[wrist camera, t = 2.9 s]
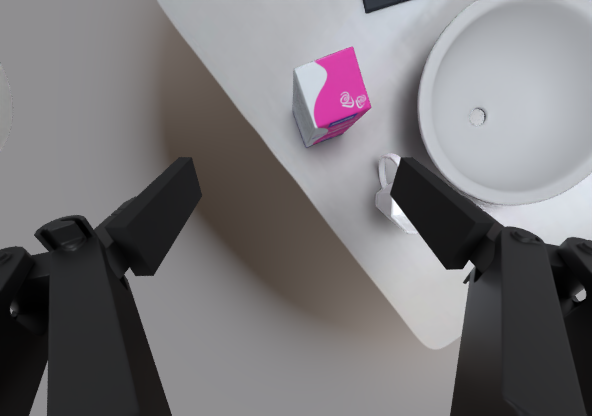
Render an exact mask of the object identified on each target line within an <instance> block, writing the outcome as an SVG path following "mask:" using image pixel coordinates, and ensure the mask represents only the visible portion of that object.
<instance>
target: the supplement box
mask: <svg viewBox="0 0 592 416" xmlns="http://www.w3.org/2000/svg"><path fill="white" fill-rule="evenodd" d="M370 108H371V105H370V101H369V98H368V95H367V92H366V89H365V86H364V83H363V79H362V76H361V72H360V69H359V66H358V62H357V59H356V55H355V52H354V48H353V47H349V48H346V49H344V50H341V51H338V52H336V53H333V54H330V55H328V56H325V57H322V58H320V59H317V60H315V61H312V62H310V63H307V64H305V65H302V66H299V67H297V68H294V76H293V113H294V116H295V119H296V122H297V125H298V127H299V130H300V133H301V136H302V139H303V142H304V145H305V147H306V148H307V147H309V146H312V145H314V144H316V143H319V142H322V141H324V140H327V139H330V138H332V137H335V136H338V135H341V134H343V133H344V132H345V131H346V130H347V129H348V128H349V127H351V126H352V125H353V124H354V123H355V122H356V121H357V120H358V119H359V118H360V117H361V116H363V115H364V114H365V113H366V112H367V111H368V110H369V109H370Z"/></svg>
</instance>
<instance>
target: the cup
mask: <svg viewBox="0 0 592 416" xmlns="http://www.w3.org/2000/svg"><path fill="white" fill-rule="evenodd" d="M386 158H388V159H391V160H392V161H393V162H394V163H395V164H396V165H397V167H398V166H399V162H400V159H401V158H400V157H399V156H398V155H397V154H392V153H390V154H386V155H383V156H381V158H380V159H379V178H380V184H381V186H382V189H381V190H380V191H378V192H377V193H376V199H375V206H376V207H377V208H378V209H379V210H380V211H381V212H382V213H383V214H385V215H386V216H387V217H388V218H389V219H390V220H391V221H392V222H393V223H394V224H396V225H397V226H398V227H400V228H401V229H402V230H403V231H405V232H406V233H418V231H417V230H416V229H415V227H414V226H413V225H412V223H411V222H410V221H409V219H408V218H407V217H406V215H405V214H404V213H403V211H402V210H401V209H400V207H399V206H398V205H397V204H396V202H395V201H394V200H393V198H392V197H391V196H390V192H391V188H392V185H393V182H394V181H393V182H392V183H390V184H389V185H387V182H386V177H385V159H386Z"/></svg>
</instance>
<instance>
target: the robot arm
mask: <svg viewBox="0 0 592 416" xmlns="http://www.w3.org/2000/svg"><path fill="white" fill-rule="evenodd" d="M390 196H391V197H392V198H393V200H394V201H395V202H396V204H397V205H398V206H399V207H400V209H401V210H402V211H403V213H404V214H405V215H406V217H407V218H408V219H409V221H410V222H411V223H412V225H413V226H414V227H415V229H416V230H417V231H418V233H419V234H420V235H421V237H422V238H423V239H424V241H425V242H426V243H427V245H428V246H429V247H430V249H431V250H432V251H433V253H434V254H435V255H436V257H437V258H438V259H439V260H440V262H441V263H442V264H443V266H444V267H445V268H446V270H450V269H463V268H464V266H465V265H466V264H467V262H468V261H469V260H470V261H471V262H472V263H473V264H474V266H475V267H474V268H473V269H472V271H471V272H470V273H469V275H468V276H467V277H466V279H465V280H464V282H463V283H464V284H466V283H467V282H468V281H469V288H468V295H467V302H466V309H465V316H464V323H463V330H462V337H461V344H460V351H459V358H458V364H457V372H456V378H455V386H454V392H453V399H452V406H451V413H450V416H592V241H591V240H585V239H582V238H576V237H570V238H567V239H566V240H565V241H564V242H563V243H562V244H561V245H560V246H556V245H551V244H545V243H544V242H543V240H542V239H540V238H539V237H538V236H536V235H534V234H533V233H531V232H529V231H526V230H524V229H521V228H516V227H508V226H507V227H504V226H503V225H502V224H500V223H499V222H498V221H496V220H495V219H494V218H493V217H491V216H490V215H489V214H487V213H486V212H485V211H483V210H482V209H481V208H480V207H478V206H476V204H474V203H473V202H472V201H471V200H469V199H468V198H466V197H464V196H462V195H460V194H458V193H457V192H456V191H455V190H453V189H452V188H451V187H449V186H448V185H447V184H446V183H444V182H443V181H442V180H441V179H439V178H438V177H437V176H436V175H434V174H433V173H432V172H431V171H429V170H428V169H427V168H425V167H424V166H423V165H422V164H420V163H419V162H418V161H417V160H415V159H414V158H413V157H401V159H400V162H399V166H398V169H397V172H396V175H395V179H394V182H393V185H392V188H391V192H390ZM201 197H202V193H201V190H200V186H199V182H198V179H197V175H196V171H195V168H194V164H193V161H192V158H191V157H188V158H187V157H179V158H178V159H177V160H176V161H175V162H174V163H173V164H171V165H170V166H169V167H168V168H167V169H166V170H165V171H164V172H163V173H162V174H161V175H160V176H159V177H157V178H156V180H154V181H153V182H152V183H151V184H150V185H149V186H148V187H147V188H146V189H145V190H144V191H142V192H141V193H140V194H139V195H138V196H137V197H134V198H132V199H130V200H128V201H126V202H124V203H123V204H122V205H121V206H120V207H119V208H118V209H117V210H116V211H114V212H113V213H112V214H111V216H109V217H108V218H106V219H105V220H104V221H103V222H102V223H101V224H100V225H99V226H98V227H96V228H95V229H94V230H93V228H92V227H91V225H90V224H89V222H88V221H87V220H86V218H85V217H84V216H80V215H73V216H66V217H62V218H59V219H56V220H54V221H51V222H49V223H47V224H45V225H44V226H42V227H41V228H40V229H38V230H37V231H36V233H35V234H34V236H35V237H36V238H37V239H38V240H39V241H40V242H41V243H42V245H43V246H44V247H45V248H46V249H47V250H48V251H49V252H46V253H41V254H36V255H32V256H31V255H30V254H29V253H28V252H27V251H26V250H25V249H24V248H23V247H17V246H15V247H9V248H4V249H1V250H0V416H29V414H30V411H31V408H32V405H33V402H34V399H35V396H36V393H37V390H38V387H39V384H40V381H41V378H42V375H43V372H44V370H45V366H46V363H47V361H48V397H47V399H48V400H47V416H172V414H171V411H170V408H169V405H168V402H167V399H166V396H165V393H164V390H163V387H162V384H161V381H160V378H159V375H158V371H157V368H156V365H155V362H154V359H153V356H152V353H151V350H150V347H149V344H148V341H147V338H146V335H145V332H144V329H143V325H142V323H141V319H140V316H139V313H138V310H137V307H136V304H135V301H134V298H133V295H132V292H131V289H130V286H129V283H128V280H127V278H126V277H125V275H124V274H125V272H126V271H127V270H128V268H129V267H130V268H131V270H132V271H133V273H134V274H135V276H154V274H155V272H156V271H157V269H158V267H159V266H160V264H161V262H162V261H163V259H164V257H165V256H166V254H167V253H168V251H169V249H170V248H171V246H172V244H173V243H174V241H175V239H176V238H177V236H178V235H179V233H180V231H181V230H182V228H183V226H184V225H185V223H186V221H187V220H188V218H189V217H190V215H191V213H192V212H193V210H194V208H195V207H196V205H197V203H198V201H199V200H200V198H201ZM584 288H585V291H586V299H584V300H582V301H578V299H577V298H576V296H575V295H576V294H577V293H579V292H580V291H581V290H583V289H584ZM10 308H11V309H12V310H13V312H12V314H11V312H10Z"/></svg>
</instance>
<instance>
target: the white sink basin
mask: <svg viewBox="0 0 592 416" xmlns="http://www.w3.org/2000/svg"><path fill="white" fill-rule="evenodd" d="M476 108H480V109H482V110H484V112H485V114H486V119H485V121H484V122H483V123H482V124H481V125H479V126H476V125H473V124H472V123H471V121H470V113H471V112H472V110H474V109H476ZM417 112H418V122H419V128H420V133H421V136H422V140H423V143H424V145H425V148H426V150H427V152H428V154H429V156H430V158H431V160H432V161H433V163H434V165H435V166H436V167H437V169H438V170H439V171H440V172H441V174H442V175H443V176H444V177H445V178H446V179H447V180H448V181H449V182H450V183H452V184H453V185H454V186H455V187H457V188H458V189H460V190H461V191H463V192H464V193H466V194H468V195H470V196H472V197H474V198H477V199H480V200H482V201H486V202H489V203H494V204H500V205H524V204H532V203H536V202H541V201H544V200H547V199H550V198H553V197H555V196H557V195H560V194H562V193H564V192H566V191H567V190H569V189H571V188H572V187H574V186H575V185H577V184H578V183H580V182H581V181H582V180H584V179H585V178H586V177H587V176H588V175H590V174H591V173H592V0H476V1H475V2H473V3H472V4H471V5H469V6H468V7H467V8H465V9H464V10H463V11H462V12H461V13H460V14H458V15H457V16H456V17H455V18H454V19H453V20H452V22H451V23H450V24H449V25H448V26H447V27H446V29H445V30H444V31H443V32H442V34H441V35H440V37H439V38H438V40H437V41H436V43H435V45H434V46H433V48H432V50H431V52H430V54H429V56H428V59H427V61H426V64H425V66H424V69H423V72H422V76H421V80H420V85H419V91H418V102H417Z"/></svg>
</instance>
